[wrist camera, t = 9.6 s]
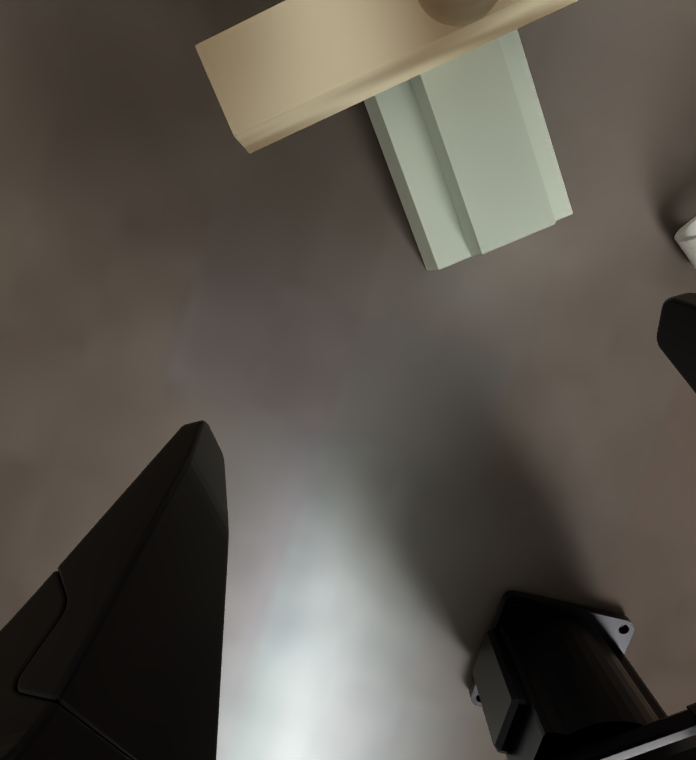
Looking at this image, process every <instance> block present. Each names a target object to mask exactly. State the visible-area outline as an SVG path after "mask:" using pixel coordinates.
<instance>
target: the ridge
mask: <svg viewBox="0 0 696 760" xmlns="http://www.w3.org/2000/svg"><path fill="white" fill-rule="evenodd" d="M364 103H365V106H366V109H367V111H368V114H369V117H370V119H371V122H372V125H373V128H374V130H375V133H376V136H377V138H378V141H379V144H380V146H381V149H382V152H383V154H384V157H385V160H386V162H387V165H388V168H389V171H390V173H391V176H392V179H393V181H394V184H395V187H396V189H397V192H398V195H399V197H400V200H401V203H402V206H403V208H404V211H405V214H406V216H407V219H408V222H409V224H410V227H411V230H412V232H413V235H414V238H415V240H416V243H417V246H418V249H419V251H420V254H421V257H422V259H423V262H424V265H425V267H426V270H427V271H428V270H440V269H442V268H444V267H447V266H449V265H452V264H454V263H456V262H459V261H461V260H464V259H466V258H468V257H471V256H476V255H482V254H485V253H487V252H489V251H492V250H494V249H497V248H499V247H501V246H504V245H506V244H509V243H511V242H513V241H516V240H518V239H520V238H523V237H525V236H528V235H530V234H532V233H535V232H537V231H540V230H542V229H544V228H547V227H549V226H552V225H554V224H556V222H555V221H557V220H559V219H561V218H564V217H566V216H569V215H571V214H573V212H572V209H571V205H570V202H569V199H568V196H567V192H566V189H565V186H564V182H563V179H562V176H561V172H560V169H559V166H558V162H557V159H556V156H555V153H554V149H553V146H552V143H551V139H550V136H549V133H548V129H547V126H546V123H545V119H544V116H543V113H542V109H541V106H540V103H539V100H538V96H537V93H536V90H535V86H534V83H533V80H532V76H531V73H530V70H529V66H528V63H527V60H526V57H525V53H524V50H523V47H522V43H521V40H520V37H519V33H518V30H517V29H516V30H514V31H512V32H510V33H507V34H505V35H503V36H501V37H499V38H497V39H495V40H492V41H490V42H488V43H486V44H484V45H482V46H480V47H477V48H475V49H473V50H471V51H469V52H467V53H465V54H462V55H460V56H458V57H456V58H454V59H452V60H450V61H447V62H445V63H443V64H441V65H439V66H437V67H435V68H432V69H430V70H428V71H426V72H424V73H422V74H420V75H417V76H415V77H413V78H411V79H409V80H407V81H405V82H402V83H400V84H398V85H396V86H394V87H392V88H390V89H387V90H385V91H383V92H381V93H379V94H377V95H374V96H372V97H370V98H368V99H366V100H364Z"/></svg>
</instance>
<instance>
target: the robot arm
mask: <svg viewBox="0 0 696 760" xmlns="http://www.w3.org/2000/svg"><path fill="white" fill-rule="evenodd" d="M657 342H658V345H659V347H660V349H661V350H662V351H663V352H664V354H665V355H666V356H667V357H668V359H669V360H670V361H671V363H672V364H673V365H674V366H675V368H676V369H677V370H678V371H679V373H680V374H681V375H682V376H683V378H684V379H685V380H686V381H687V383H688V384H689V385H690V387H691V388H692V389H693V390H694V392H695V393H696V293H685V294H681V295H677V296H674V297H670V298H668V299H667V300H665V302H664V303H663V306H662V310H661V315H660V321H659V326H658V331H657ZM228 541H229V526H228V509H227V494H226V480H225V465H224V458H223V454H222V451H221V449H220V447H219V445H218V443H217V441H216V439H215V437H214V435H213V433H212V431H211V429H210V427H209V425H208V424H207V423H206V422H205V421H203V420H202V421H198V422H194V423H190V424H186V425H184V426H182V427H181V428H180V429H179V430H178V432H177V433H176V434H175V435H174V436H173V437H172V438H171V440H170V441H169V442H168V443H167V444H166V445H165V446H164V447H163V449H162V450H161V451H160V452H159V453H158V454H157V455H156V457H155V458H154V459H153V460H152V461H151V462H150V463H149V465H148V466H147V467H146V468H145V469H144V470H143V471H142V472H141V474H140V475H139V476H138V477H137V478H136V479H135V480H134V482H133V483H132V484H131V485H130V486H129V487H128V488H127V490H126V491H125V492H124V493H123V494H122V495H121V496H120V497H119V499H118V500H117V501H116V502H115V503H114V504H113V505H112V507H111V508H110V509H109V510H108V511H107V512H106V513H105V515H104V516H103V517H102V518H101V519H100V520H99V521H98V522H97V524H96V525H95V526H94V527H93V528H92V529H91V530H90V532H89V533H88V534H87V535H86V536H85V537H84V538H83V539H82V541H81V542H80V543H79V544H78V545H77V546H76V547H75V549H74V550H73V551H72V552H71V553H70V554H69V555H68V556H67V558H66V559H65V560H64V561H63V562H62V563H61V564H60V566H59V567H58V571H55V572H53V573H52V575H51V576H50V577H49V578H48V579H47V580H46V581H45V582H44V584H43V585H42V586H41V587H40V588H39V589H38V590H37V592H36V593H35V594H34V595H33V596H32V597H31V598H30V599H29V600H28V601H27V603H26V604H25V605H24V606H23V607H22V608H21V609H20V610H19V611H18V612H17V614H16V615H15V616H14V617H13V618H12V619H11V620H10V621H9V622H8V623H7V624H6V625H5V626H4V627H3V629H2V630H1V631H0V760H216V751H217V734H218V717H219V699H220V682H221V664H222V647H223V630H224V612H225V595H226V577H227V560H228ZM512 601H516V603H514V604H510V602H512ZM622 625H624V626H623V627H622V628H620V626H622ZM633 632H634V625H633V624H632V622H631V621H630V620H629V619H628V618H627V617H626V616H624V615H620V614H616V613H612V612H607V611H603V610H598V609H594V608H589V607H585V606H580V605H576V604H571V603H567V602H562V601H558V600H553V599H549V598H544V597H540V596H536V595H531V594H527V593H522V592H518V591H508V592H506V593H505V594H504V595H503V597H502V599H501V602H500V604H499V607H498V610H497V613H496V616H495V619H494V621H493V624H492V627H491V629H489V630H488V631H487V632H486V634H485V637H484V640H483V643H482V645H481V648H480V651H479V654H478V657H477V660H476V662H475V665H474V668H473V676H474V678H473V681H472V684H471V687H470V690H469V693H470V697H471V700H472V702H473V703H474V704H475V705H477V706H481V707H483V711H484V714H485V717H486V721H487V724H488V728H489V731H490V735H491V738H492V741H493V745H494V746H495V748H496V750H497V751H498V752H500V753H505V754H506V757H507V760H696V703H694V704H691V705H688V706H687V710H684V711H681V712H678V713H676V714H673V715H670V716H667V715H666V713H665V712H664V711H663V709H662V708H661V706H660V705H659V703H658V702H657V701H656V699H655V698H654V696H653V695H652V694H651V692H650V691H649V689H648V688H647V686H646V685H645V684H644V682H643V681H642V679H641V678H640V677H639V675H638V674H637V672H636V671H635V669H634V668H633V667H632V665H631V664H630V662H629V661H628V659H627V658H626V657H625V655H624V653H625V651H626V649H627V646H628V644H629V642H630V639H631V637H632V635H633ZM478 694H479V695H478Z"/></svg>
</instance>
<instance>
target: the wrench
mask: <svg viewBox="0 0 696 760" xmlns="http://www.w3.org/2000/svg"><path fill="white" fill-rule="evenodd" d="M674 239H675V240H676V242H677V243H678V245H679V246H680V247H681V249H682V250H683V252H684V253H685V254H686V256H687V257H688V259H689V260H690V262H691V263H692V264H693V266H694V267H695V268H696V216H695V217H694V218H693V219H691V220H690V221H689V222H688V223H686V224H685V225H684V226H683V227H681V228H680V229H679V230H678V231H677V233H676V234H675V237H674Z"/></svg>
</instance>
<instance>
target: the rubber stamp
mask: <svg viewBox="0 0 696 760" xmlns="http://www.w3.org/2000/svg"><path fill="white" fill-rule="evenodd" d="M576 1H578V0H285V1H283V2H281V3H279V4H277V5H275V6H273V7H271V8H269V9H267V10H265V11H263V12H261V13H259V14H257V15H255V16H253V17H251V18H249V19H247V20H245V21H243V22H241V23H239V24H237V25H235V26H233V27H231V28H229V29H227V30H225V31H223V32H221V33H219V34H217V35H215V36H213V37H211V38H209V39H207V40H205V41H203V42H201V43H199V44H197V45H195V47H196V50H197V52H198V54H199V57H200V59H201V61H202V64H203V66H204V68H205V71H206V73H207V75H208V77H209V80H210V82H211V84H212V87H213V89H214V91H215V94H216V96H217V98H218V101H219V103H220V105H221V108H222V110H223V112H224V114H225V117H226V119H227V121H228V124H229V126H230V128H231V131H232V133H233V135H234V137H235V138H236V139H237V140H238V141H239V142H240V144H241V145H242V146H243V147H244V148H245V149H246V150H247V151H248V153H249V154H250V153H252V152H254V151H257V150H259V149H261V148H263V147H265V146H267V145H269V144H272V143H274V142H276V141H278V140H280V139H282V138H284V137H287V136H289V135H291V134H293V133H295V132H297V131H299V130H302V129H304V128H306V127H308V126H310V125H312V124H314V123H317V122H319V121H321V120H323V119H325V118H327V117H329V116H332V115H334V114H336V113H338V112H340V111H342V110H344V109H347V108H349V107H351V106H353V105H355V104H357V103H359V102H362V101H364V100H366V99H368V98H370V97H372V96H374V95H377V94H379V93H381V92H383V91H385V90H387V89H390V88H392V87H394V86H396V85H398V84H400V83H402V82H405V81H407V80H409V79H411V78H413V77H415V76H417V75H420V74H422V73H424V72H426V71H428V70H430V69H432V68H435V67H437V66H439V65H441V64H443V63H445V62H447V61H450V60H452V59H454V58H456V57H458V56H460V55H462V54H465V53H467V52H469V51H471V50H473V49H475V48H477V47H480V46H482V45H484V44H486V43H488V42H490V41H492V40H495V39H497V38H499V37H501V36H503V35H505V34H507V33H510V32H512V31H514V30H516V29H518V28H520V27H522V26H525V25H527V24H529V23H531V22H533V21H535V20H537V19H540V18H542V17H544V16H546V15H548V14H550V13H552V12H555V11H557V10H559V9H561V8H563V7H565V6H567V5H570V4H572V3H574V2H576Z"/></svg>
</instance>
